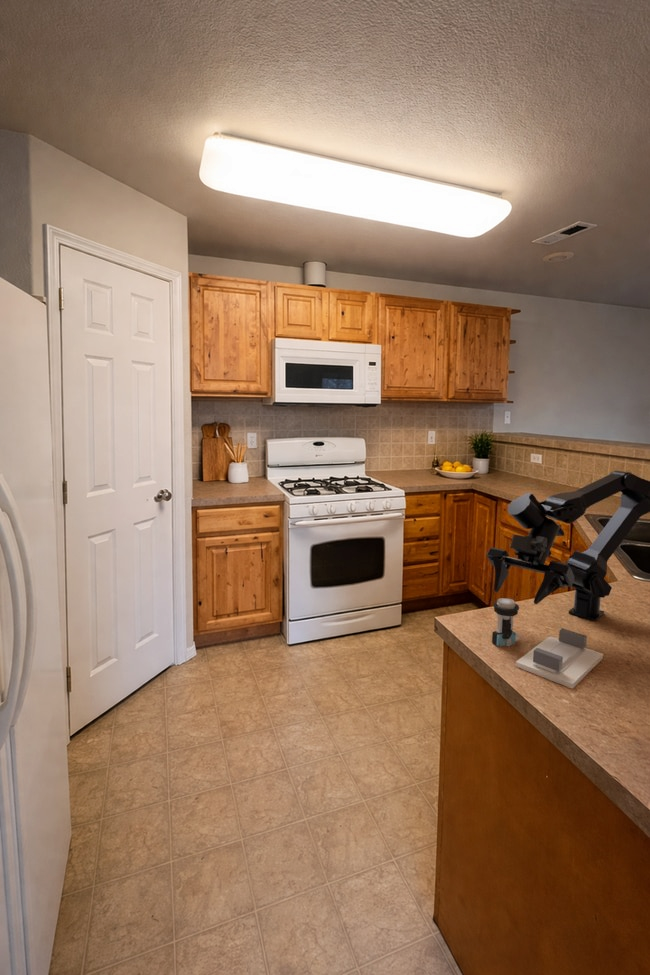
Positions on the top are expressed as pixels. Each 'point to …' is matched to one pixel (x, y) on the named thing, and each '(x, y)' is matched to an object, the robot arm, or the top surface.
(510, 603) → the push button
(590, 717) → the top surface
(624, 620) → the top surface
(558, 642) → the rail board
